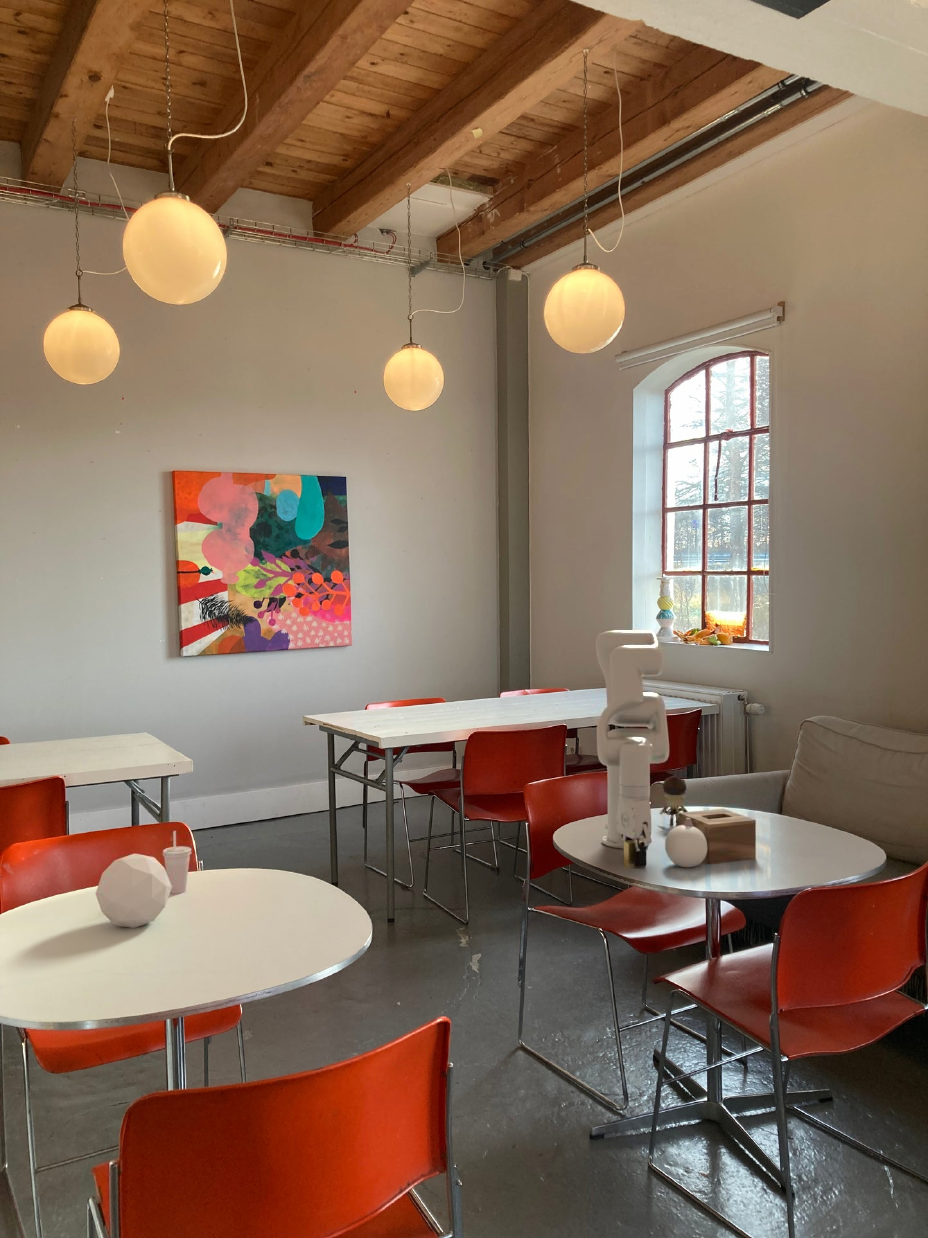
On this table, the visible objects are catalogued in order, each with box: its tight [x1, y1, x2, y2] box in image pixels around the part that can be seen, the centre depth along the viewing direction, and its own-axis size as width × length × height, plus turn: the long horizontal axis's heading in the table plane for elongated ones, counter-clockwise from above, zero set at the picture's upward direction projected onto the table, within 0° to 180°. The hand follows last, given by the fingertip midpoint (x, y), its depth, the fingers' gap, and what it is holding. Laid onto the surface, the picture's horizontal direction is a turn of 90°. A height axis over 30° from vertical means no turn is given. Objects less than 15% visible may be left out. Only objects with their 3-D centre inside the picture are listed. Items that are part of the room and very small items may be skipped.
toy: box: [659, 775, 689, 827], centre depth 271 cm, size 9×7×15 cm
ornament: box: [664, 818, 707, 868], centre depth 229 cm, size 10×10×12 cm
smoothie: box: [162, 830, 192, 895], centre depth 211 cm, size 6×6×14 cm
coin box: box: [678, 808, 757, 865], centre depth 240 cm, size 14×14×10 cm
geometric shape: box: [95, 853, 172, 929], centre depth 190 cm, size 14×15×15 cm
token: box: [623, 840, 643, 868], centre depth 231 cm, size 2×5×6 cm, turn 110°
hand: (634, 862), depth 231 cm, fingers open, 4 cm apart
